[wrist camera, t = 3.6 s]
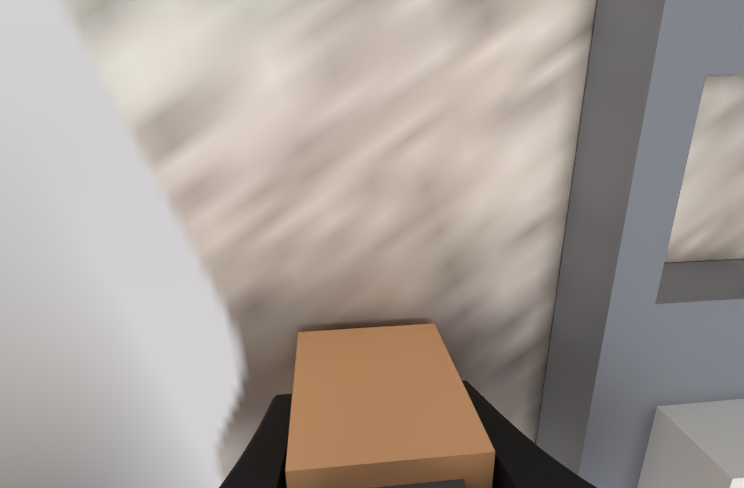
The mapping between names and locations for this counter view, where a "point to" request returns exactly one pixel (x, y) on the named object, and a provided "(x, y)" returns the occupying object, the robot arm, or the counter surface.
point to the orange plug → (383, 413)
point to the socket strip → (645, 266)
